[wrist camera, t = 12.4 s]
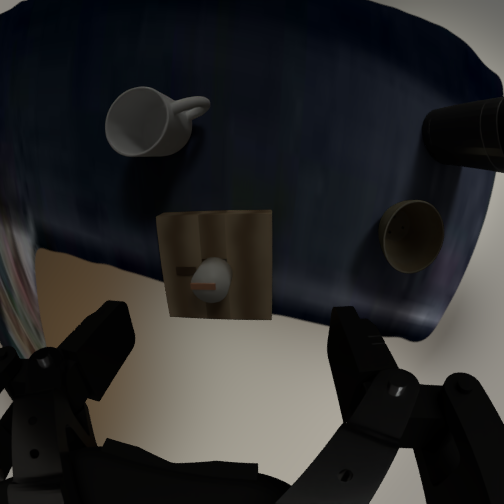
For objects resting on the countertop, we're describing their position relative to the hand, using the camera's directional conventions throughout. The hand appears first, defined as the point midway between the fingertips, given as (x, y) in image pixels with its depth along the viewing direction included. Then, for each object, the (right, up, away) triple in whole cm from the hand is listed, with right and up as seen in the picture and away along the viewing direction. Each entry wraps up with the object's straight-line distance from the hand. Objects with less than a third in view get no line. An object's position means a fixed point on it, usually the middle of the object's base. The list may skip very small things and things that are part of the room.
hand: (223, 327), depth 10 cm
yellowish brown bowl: (+23, +7, +28) cm, 37 cm away
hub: (-4, +1, +32) cm, 32 cm away
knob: (-4, +1, +32) cm, 32 cm away
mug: (-9, +21, +26) cm, 34 cm away
